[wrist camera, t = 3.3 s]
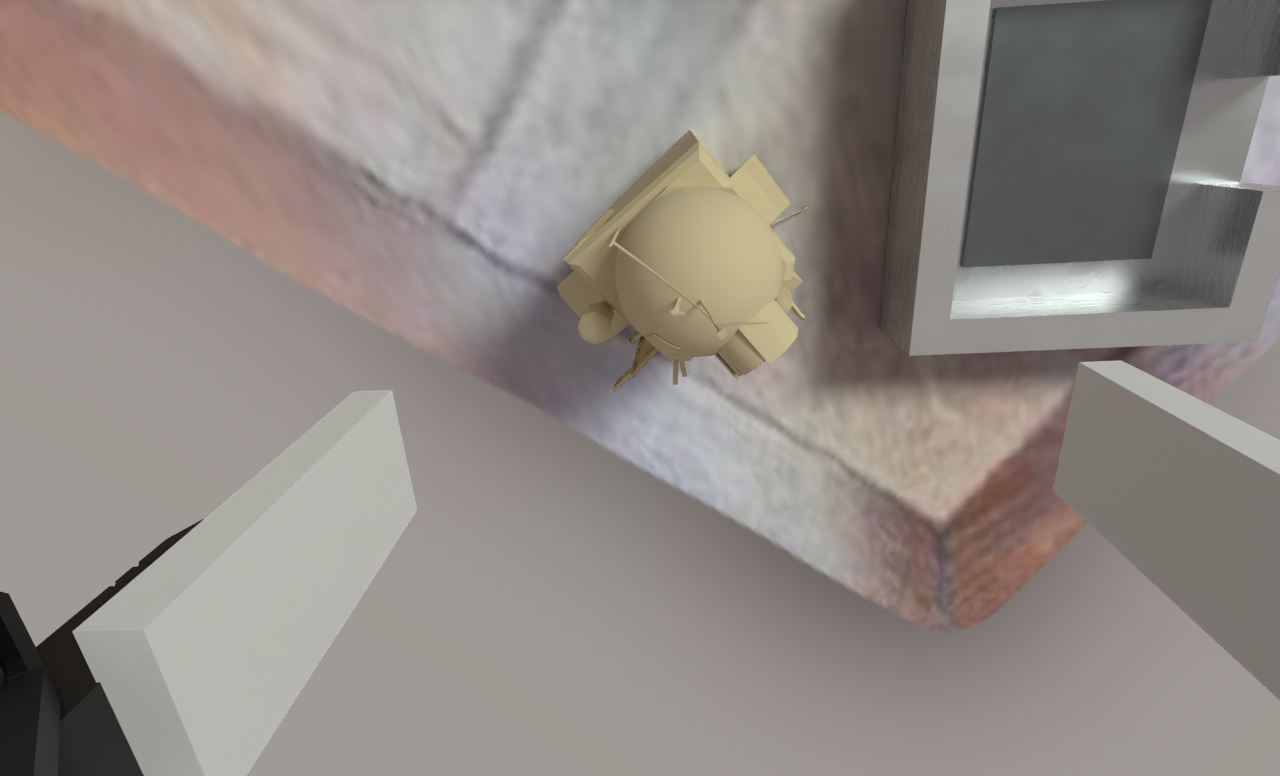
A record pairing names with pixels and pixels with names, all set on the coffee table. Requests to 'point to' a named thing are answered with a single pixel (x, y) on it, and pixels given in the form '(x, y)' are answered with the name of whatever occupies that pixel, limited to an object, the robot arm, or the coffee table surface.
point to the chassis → (1080, 175)
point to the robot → (689, 266)
